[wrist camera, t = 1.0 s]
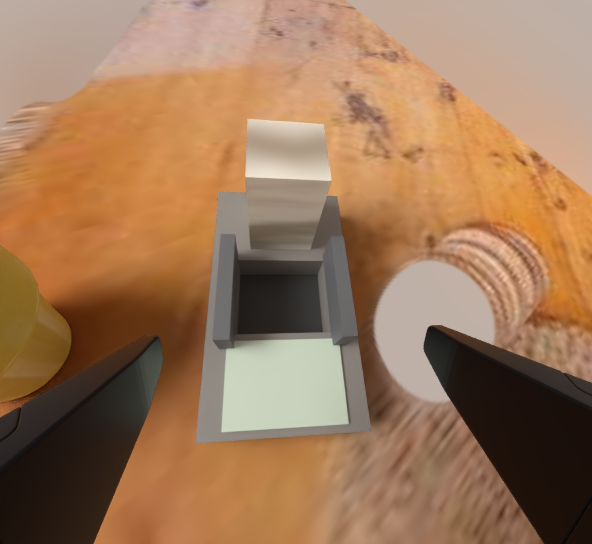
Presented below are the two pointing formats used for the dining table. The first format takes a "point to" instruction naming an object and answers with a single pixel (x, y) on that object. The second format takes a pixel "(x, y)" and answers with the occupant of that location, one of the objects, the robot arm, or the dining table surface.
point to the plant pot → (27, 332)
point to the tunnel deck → (279, 335)
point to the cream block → (285, 183)
